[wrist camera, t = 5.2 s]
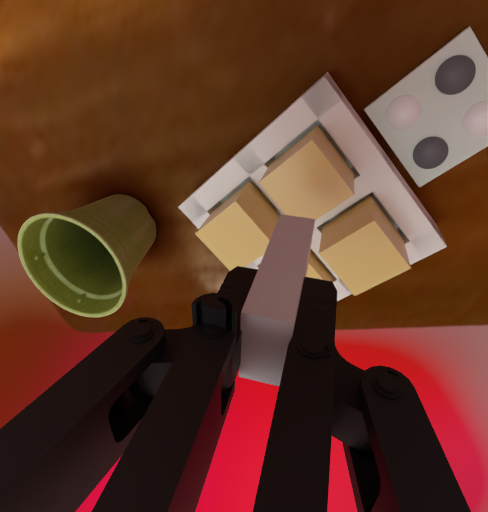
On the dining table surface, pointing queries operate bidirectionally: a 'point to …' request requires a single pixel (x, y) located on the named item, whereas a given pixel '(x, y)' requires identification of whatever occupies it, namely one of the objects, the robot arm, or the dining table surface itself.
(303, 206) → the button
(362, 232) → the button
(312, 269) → the tan cube block
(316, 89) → the board
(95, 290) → the plant pot
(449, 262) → the dining table surface
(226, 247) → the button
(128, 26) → the dining table surface
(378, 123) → the pattern card
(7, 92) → the dining table surface
